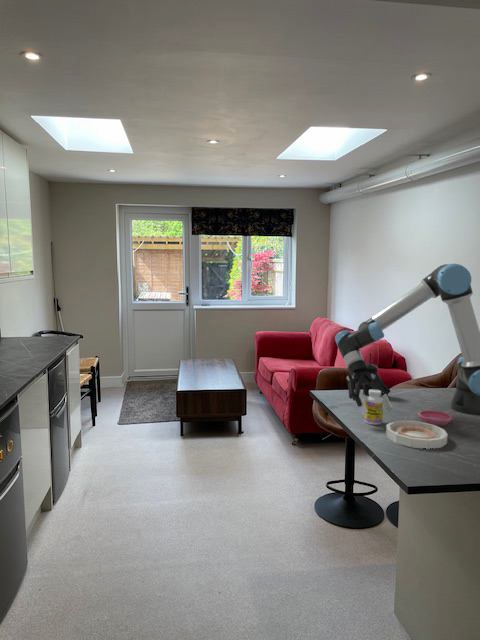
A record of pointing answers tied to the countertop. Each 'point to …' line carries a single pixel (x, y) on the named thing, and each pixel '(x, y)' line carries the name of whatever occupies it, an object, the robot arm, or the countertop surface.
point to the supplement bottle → (374, 407)
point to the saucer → (435, 417)
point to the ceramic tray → (416, 434)
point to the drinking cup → (371, 370)
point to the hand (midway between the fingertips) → (378, 411)
